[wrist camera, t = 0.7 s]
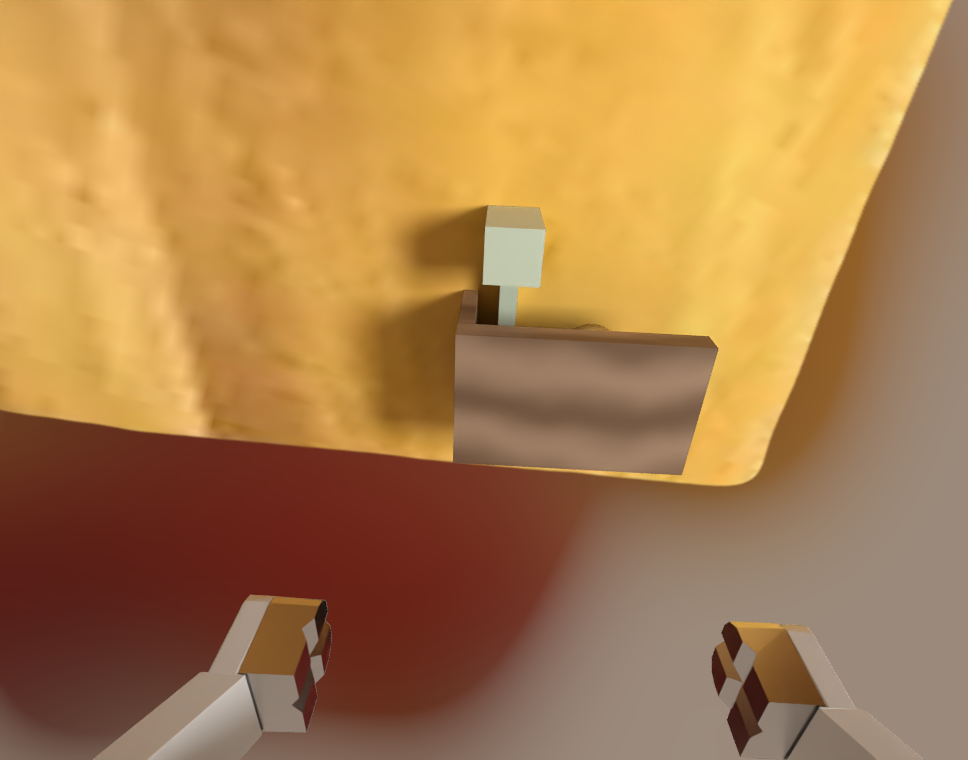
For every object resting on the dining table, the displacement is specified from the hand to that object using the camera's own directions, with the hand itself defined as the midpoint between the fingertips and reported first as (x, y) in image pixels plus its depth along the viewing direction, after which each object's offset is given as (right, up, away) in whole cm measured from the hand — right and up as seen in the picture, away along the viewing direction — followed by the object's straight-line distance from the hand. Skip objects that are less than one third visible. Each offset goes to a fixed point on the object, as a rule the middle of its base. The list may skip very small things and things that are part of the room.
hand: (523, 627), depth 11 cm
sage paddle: (+1, +12, +34) cm, 36 cm away
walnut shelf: (+6, +7, +36) cm, 38 cm away
